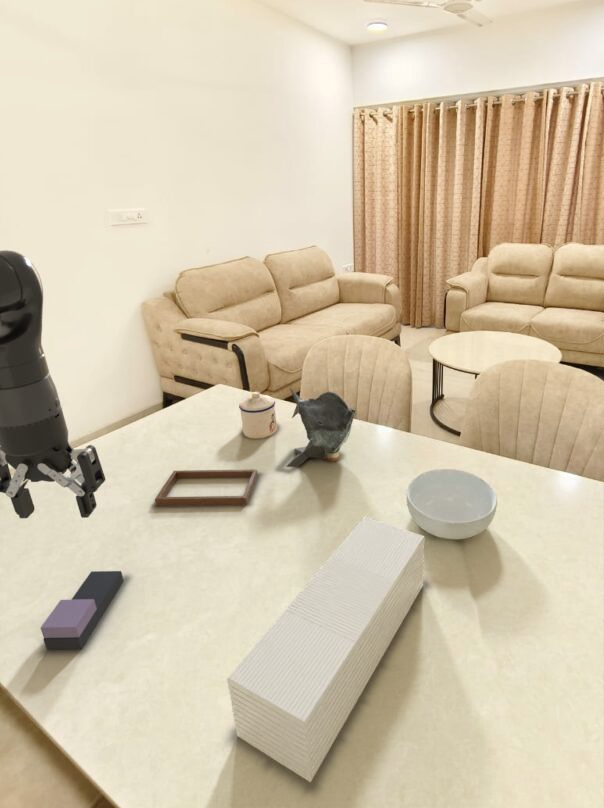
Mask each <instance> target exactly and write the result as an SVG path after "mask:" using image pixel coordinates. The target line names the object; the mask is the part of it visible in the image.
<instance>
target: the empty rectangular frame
mask: <svg viewBox="0 0 604 808" xmlns="http://www.w3.org/2000/svg"><path fill="white" fill-rule="evenodd" d="M258 477H259V475H258V469H198V470H197V469H195V470H194V469H193V470H189V469H188V470H173V471H172V473H171V474H170V475H169V477H168V479H167V481H166V482H165V483H164V485H163V486H162V488H161V489H160V491H159V492H158V494H157V495H156V497H155V498H154V502H155V506H156V507H167V506H168V507H179V506H186V507H187V506H188V507H190V506H242V505H243V506H246V505H248V504H249V500H250V498H251V495H252V492H253V490H254V488H255V485H256V483H257V482H256V481H257V479H258ZM240 478H241V479H245V478H246V479H249V480H248V483H247V485H246V488H245V490H244V492H243V495H212V496H211V495H206V496H201V495H200V496H168V494H169V493H170V492H171V489H172V488H173V486H174V485H175V484H176V482H177V480H181V479H182V480H184V479H187V480H188V479H191V480H192V479H240Z"/></svg>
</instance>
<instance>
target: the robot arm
mask: <svg viewBox="0 0 604 808" xmlns="http://www.w3.org/2000/svg"><path fill="white" fill-rule="evenodd" d="M43 312H44V287H43V281H42V279H41V276H40V273H39V272H38V270H37V268H36V267H35V265H34V263H32V261H30V259H29V258H28V257H26V256H25V255H23V254H21V253H19V252H17V251H13V250H8V249H5V250H4V249H3V250H0V493H2V494H5V495H6V496H7V497H8V498H10V501H11V504H12V506H13V507H12V508H13V510H14V512H15V514H16V515H18V517H19V519H28V518H29V517H30V516H31V515H32V514H33V513H34V512H35V505H34V502H33V498H32V496H31V492H30V489H29V488H28V487H26V486H27V485H28V483H29V481H30V482H31V483H40V482H42V481H43V482H47V483H53V482H54V483H55V482H56V483H57V484H58V485H59V486H61V487H62V488H68V489H69V490H70V491H71V492H73V494H75V495H76V496H75V500H76V504H77V508H78V510H79V511H78V512H79V514H80V517H81V518H83V519H85V518H86V519H87V518H89V517H90V516H91V515H92V513H93V512H94V511H95V509H96V508H97V501H96V496H95V493H96V492H97V491H98V490H99V488H100V487H101V486H102V485H103V484H104V483H105V482H106V477H105V473H104V470H103V466H102V464H101V461H100V457H99V454H98V451H97V448H96V446H94V445H92V444H89V445H87V446H86V447H85V448H80V449H79V448H77V449H74V448H73V447H72V446H71V445H70V443H69V430H68V426H67V423H66V419H65V415H64V411H63V408H62V405H61V401H60V397H59V393H58V390H57V387H56V383H55V382H54V380H53V378H52V376H51V373H50V369H49V366H48V362H47V357H46V355H45V352H44V348H43V345H42V338H43V337H42V335H43ZM10 467H11V468H13V469H14V470H15V471H14V474H13V476H12V475H11V470H10ZM67 471H69V472H70V474H69V475H67V476H66V475H65V474H66V473H67Z"/></svg>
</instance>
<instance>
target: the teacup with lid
mask: <svg viewBox="0 0 604 808" xmlns="http://www.w3.org/2000/svg"><path fill="white" fill-rule="evenodd" d="M238 407H239V411H240V418H241V425H242V433H243V435H244V436H245V437H247V438H249V439H264V438H267V437H270V436H273V435H274V434H275V433H276V432H277V429H278V428H277V427H278V426H277V420H276V419H277V418H276V417H277V416H276V409H275V407H276V401H275V399H274V398H273V397H272V396H270V395H267V394H261V392H259V391H253V392H252V393H251V395H249V396H247V397H244V398H243V399H242V400H241V401H240V402H239V405H238Z"/></svg>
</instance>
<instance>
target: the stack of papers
mask: <svg viewBox="0 0 604 808" xmlns="http://www.w3.org/2000/svg"><path fill="white" fill-rule="evenodd" d="M424 566H425V536H424V535H422V534H420V533H416V532H413V531H410V530H407V529H404V528H400V527H398V526H394V525H392V524H389V523H386V522H383V521H380V520H378V519H377V520H376V519H374V518H371V517H367V516H364V517H362V519H361V520H360V521H359V522H358V523H357V524H356V526H355V527H354V528H353V529H352V531H351V532H350V533H349V534H348V535H347V537H346V538H344V540H343V541H342V542H341V543H340V545H339V546H338V547H337V548H336V549H335V550H334V552H333V553H332V554H331V555H330V556H329V558H328V559H327V560H325V562H324V563H323V565H322V566H321V567H320V568H319V569H318V571H316V573H315V574H314V575H313V576H312V577H311V579H310V580H309V581H308V582H307V583H306V584H305V586H304V587H303V588H302V590H300V592H299V593H298V594H297V595H296V597H295V598H294V599H293V600H292V601H291V602H290V604H289V605H287V607H286V608H285V609H284V610H283V612H282V613H281V614H280V615H279V616H278V617H277V619H276V620H275V621H274V622H273V623H272V625H270V627H269V628H268V629H267V631H266V632H265V633H264V634H263V635H262V636H261V637H260V639H259V640H258V641H257V642H256V643H255V645H254V646H253V647H252V648H250V650H249V651H248V652H247V654H246V655H245V657H243V659H242V660H241V661H240V662H239V663H238V665H237V666H236V667H235V668H234V669H233V670H232V671H231V673H230V674H229V675H228V676H227V678H226V681H227V684H228V685H227V687H228V692H229V698H230V703H231V704H230V705H231V707H232V708H231V709H232V713H233V714H232V715H233V716H232V717H233V718H234V719H233V721H234V727H235V729H236V730H235V732H236V736H237V738H240V739H241V740H243V741H244V742H246V743H247V744H249V745H251V747H254V748H255V749H257V750H259V751H260V752H262V753H263V754H265V755H266V756H268V757H270V758H271V759H273V760H275V762H277V763H278V764H281V765H282V766H283V767H285V768H287V769H289V771H291V772H294V773H295V774H297V775H298V776H300V777H301V778H302V779H304V780H306V781H307V782H309V783H311V782H312V781H313V779H314V777H315V775H316V774H317V773H318V770H319V768H320V767H321V765H322V763H323V761H324V760H325V758H326V756H327V755H328V752H329V751H330V749H331V748H332V745H333V743H334V742H335V740H336V738H337V737H338V735H339V733H340V732H341V731H342V729H343V726H344V725H345V723H346V721H347V720H348V718H349V716H350V714H351V713H352V710H353V709H354V707H355V705H356V704H357V702H358V701H359V698H360V697H361V695H362V693H363V692H364V689H365V688H366V686H367V684H368V683H369V681H370V679H371V677H372V676H373V674H374V672H375V670H376V669H377V667H378V665H379V663H380V662H381V660H382V658H383V656H384V654H385V653H386V651H387V650H388V647H389V646H390V645H391V642H392V641H393V639H394V638H395V635H396V634H397V632H398V630H399V628H400V627H401V625H402V623H403V621H404V619H405V618H406V616H407V615H408V613H409V611H410V609H411V608H412V605H413V603H414V602H415V600H416V599H417V597H418V595H419V593H420V591H421V590H422V588H423V586H424V573H425V572H424V568H425V567H424Z"/></svg>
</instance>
